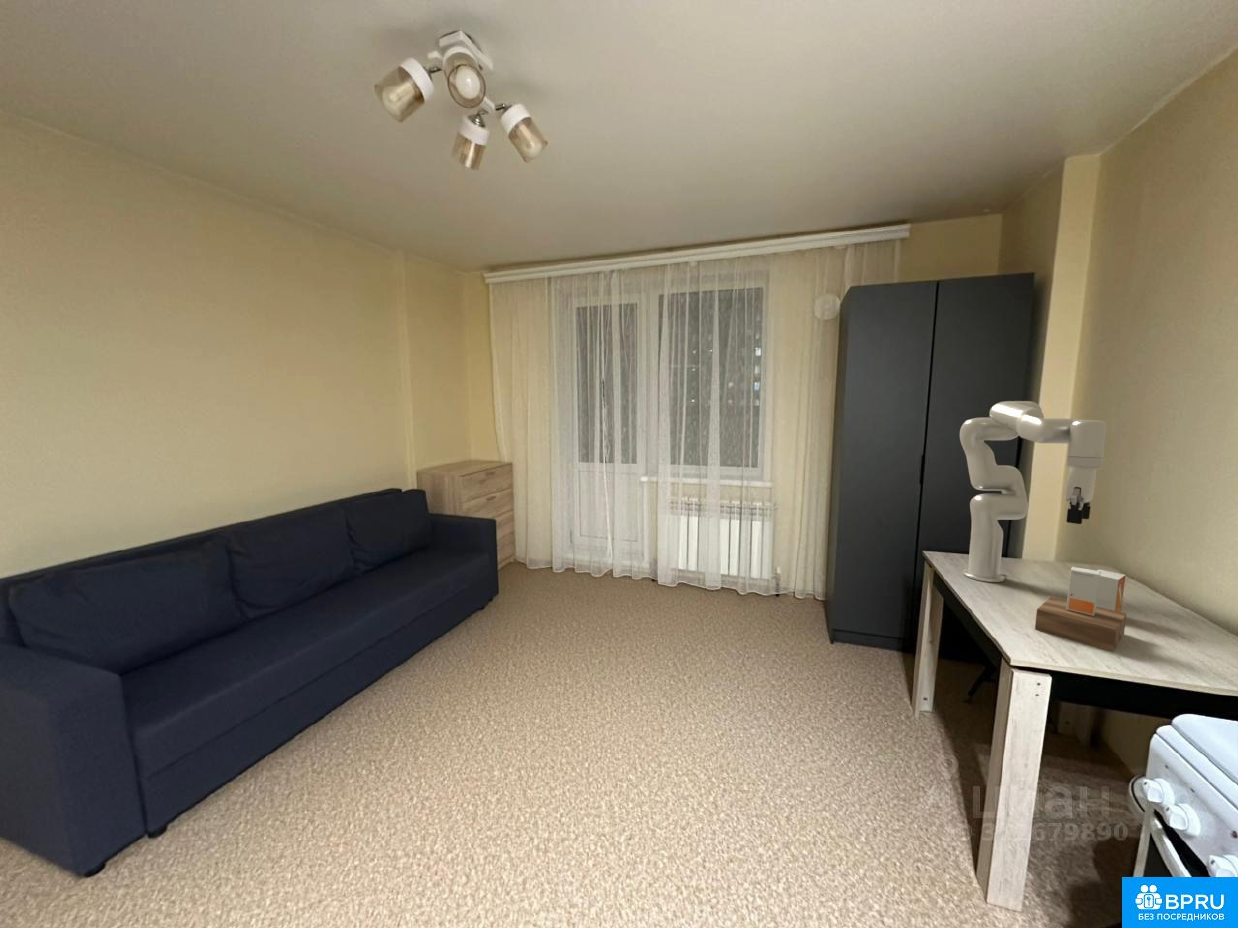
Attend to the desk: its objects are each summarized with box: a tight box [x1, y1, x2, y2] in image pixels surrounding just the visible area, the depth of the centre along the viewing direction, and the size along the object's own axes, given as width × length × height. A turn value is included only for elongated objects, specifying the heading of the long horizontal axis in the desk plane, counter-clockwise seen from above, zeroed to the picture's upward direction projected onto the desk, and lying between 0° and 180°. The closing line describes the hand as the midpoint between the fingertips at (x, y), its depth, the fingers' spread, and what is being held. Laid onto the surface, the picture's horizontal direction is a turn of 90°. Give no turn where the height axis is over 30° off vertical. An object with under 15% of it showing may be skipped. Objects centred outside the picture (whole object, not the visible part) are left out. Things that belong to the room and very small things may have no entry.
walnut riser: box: [1034, 595, 1127, 652], centre depth 138 cm, size 16×16×6 cm
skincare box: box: [1066, 566, 1101, 616], centre depth 137 cm, size 6×4×12 cm
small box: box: [1096, 568, 1127, 613], centre depth 148 cm, size 8×6×13 cm
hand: (1077, 520), depth 143 cm, fingers open, 9 cm apart
